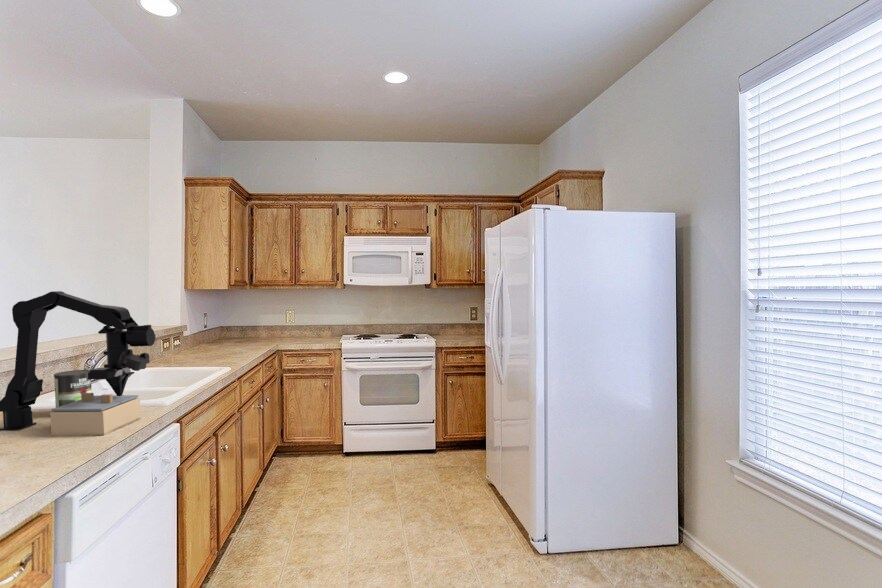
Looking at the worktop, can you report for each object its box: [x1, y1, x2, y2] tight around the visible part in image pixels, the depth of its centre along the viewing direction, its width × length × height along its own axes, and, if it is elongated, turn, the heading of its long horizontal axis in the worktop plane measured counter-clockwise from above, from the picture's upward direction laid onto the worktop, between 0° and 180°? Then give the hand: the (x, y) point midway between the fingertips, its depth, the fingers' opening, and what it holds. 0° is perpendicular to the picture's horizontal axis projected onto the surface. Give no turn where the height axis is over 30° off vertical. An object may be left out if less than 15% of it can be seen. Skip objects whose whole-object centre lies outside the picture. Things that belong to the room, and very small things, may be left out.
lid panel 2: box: [75, 392, 140, 403], centre depth 153 cm, size 15×8×3 cm, turn 87°
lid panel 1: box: [51, 394, 121, 412], centre depth 144 cm, size 15×8×3 cm, turn 87°
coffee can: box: [53, 369, 93, 408], centre depth 166 cm, size 10×10×14 cm
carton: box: [49, 397, 142, 437], centre depth 149 cm, size 16×16×7 cm
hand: (119, 395), depth 153 cm, fingers closed
